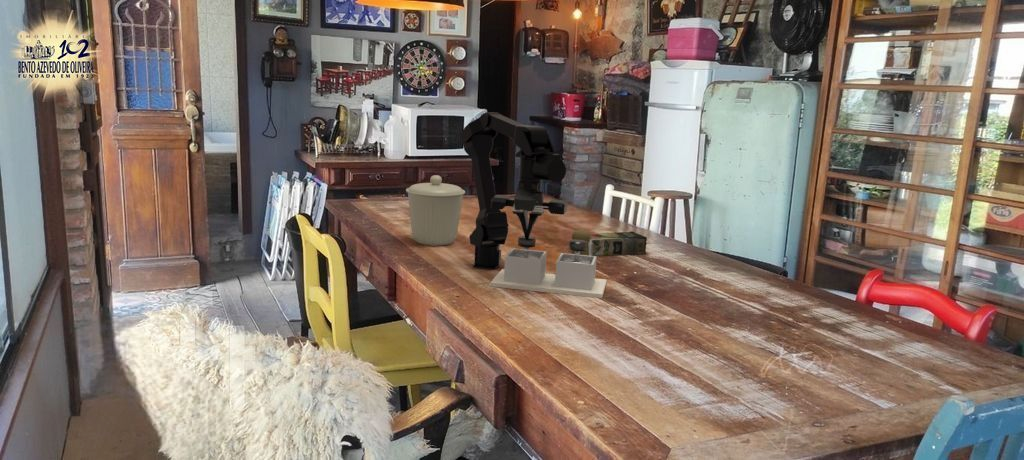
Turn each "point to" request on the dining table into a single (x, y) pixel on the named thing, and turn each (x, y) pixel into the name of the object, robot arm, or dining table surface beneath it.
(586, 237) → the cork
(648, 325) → the dining table surface
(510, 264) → the board
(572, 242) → the plunger
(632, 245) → the juice carton
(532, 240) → the plunger
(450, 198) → the canister
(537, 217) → the robot arm
